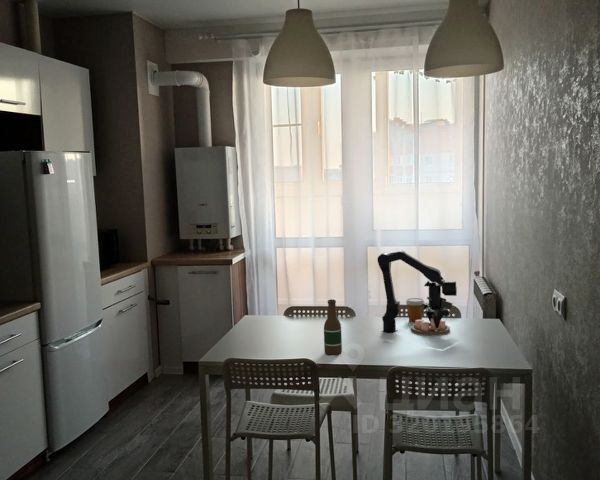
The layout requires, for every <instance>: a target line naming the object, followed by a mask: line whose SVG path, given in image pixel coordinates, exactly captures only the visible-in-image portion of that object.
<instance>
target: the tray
mask: <svg viewBox="0 0 600 480" xmlns="http://www.w3.org/2000/svg"><path fill="white" fill-rule="evenodd" d="M450 328H451V327H450V326H449V325H447V324H445V330H443V331H437V330H432V329H431V323H430V322H429V331H420V330H417V329H415V324H412V325H411V327H410V331H411V332H412V333H413V334H416V335H420V336H433V337H434V336H443V335H444V336H445V335H447V334H449V333H450V331H451V329H450Z"/></svg>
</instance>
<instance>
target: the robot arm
mask: <svg viewBox="0 0 600 480" xmlns="http://www.w3.org/2000/svg"><path fill="white" fill-rule="evenodd" d="M396 261H402V262H403V263H404V264H407V265H408V266H410V267H412V268H413V269H415V270H416V271H418V272H420V273H421V274H422V275H423V276H424V277H425V278H426V279H427V282H425V283H424V287H428V296H427V297H426V300H428V302H424V303H423V304H422V305H421V309H422V310H423V311H424V313H425V315H426V316H427V319H428V322H429V323H431V318H433V321H434V324H435V327H436V328H438V327H439V324H440V321H441V320H442V319H443V317H449V316H450V311H449V310H451V309H452V306H453V302H450V301H447V299H446V298H444V297H442V295H441V294H443V296H446V297H447V296H450V297H453V296H454V297H456V296H457V294H458V292H457V291H458V288H457V281H456V280H455V281H454V280H453V281H446V280H445V279H444V278H443V277H442V273H441V271H440V270H439V269H438V268H435V267H433V266H430V265H427V264H425V263H423V262H421V261H420V260H418V259H416V258H415V257H413V256H412V255H410V254H408V253H406V251H404V250H399V251H396V252H382V253H381V254H380V255H378V257H377V264H378V266H379V269H380V270H381V272H382V277H383V278H382V279H383V284H384V289H385V296H386V297H385V298H386V309H385V310H386V312H385V313H384V314H383V316H382V317H381V320H382V329H383V330H381V331H380V333H386V334H394V333H396V332H399V331H398V330H397V328H396V327H397V326H396V325H397V323H396V318H397V317H398V315H399V314H400V312H401V309H402V308H401V302H400V300H398V301H397V298H396V295H395V290H394V283H393V278H392V271H391V268H392V263H393V262H396Z"/></svg>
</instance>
